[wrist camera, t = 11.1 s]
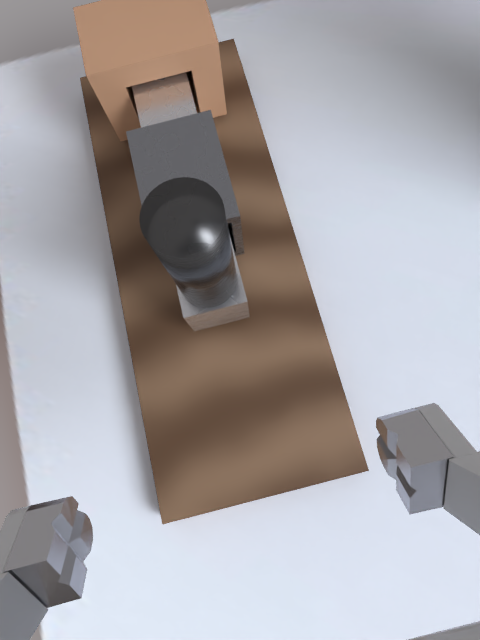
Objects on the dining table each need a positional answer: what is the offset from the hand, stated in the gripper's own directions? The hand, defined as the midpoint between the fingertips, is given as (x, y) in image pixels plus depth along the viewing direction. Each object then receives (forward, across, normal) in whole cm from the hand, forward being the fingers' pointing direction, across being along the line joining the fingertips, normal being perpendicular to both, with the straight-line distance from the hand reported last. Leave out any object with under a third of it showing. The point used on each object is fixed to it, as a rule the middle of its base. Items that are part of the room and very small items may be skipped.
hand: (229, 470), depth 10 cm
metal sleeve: (+24, 0, 0) cm, 24 cm away
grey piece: (+24, 0, -2) cm, 24 cm away
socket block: (+32, 0, -8) cm, 33 cm away
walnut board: (+23, 0, +3) cm, 23 cm away
